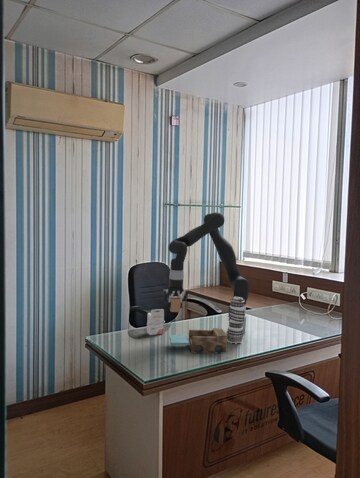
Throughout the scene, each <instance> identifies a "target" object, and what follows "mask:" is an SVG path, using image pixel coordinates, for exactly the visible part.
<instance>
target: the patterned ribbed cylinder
mask: <svg viewBox="0 0 360 478" xmlns="http://www.w3.org/2000/svg"><path fill="white" fill-rule="evenodd" d="M232 297H233V296H232ZM232 297H231V298H232ZM231 298H230V300H229V301H230V305H229V306H228V316H227V317H228V319H227V320H228V328H227V334H226V335H227V343H229V342H230V343H229V344H232V343H235V344H234V345H238V344H237V343H241V344H242V343H243V334H244V333H242V332H243V330H242V329H243V326H242V325H243V322H244V320H243V319H244V317H243V316H244V315H245V316H246V312H245V311H244V310H243V309H244V302H245V301H244V300H243V298H241V297H233V298H232V299H231ZM244 312H245V314H244Z"/></svg>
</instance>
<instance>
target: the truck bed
mask: <svg viewBox="0 0 360 478" xmlns="http://www.w3.org/2000/svg"><path fill="white" fill-rule="evenodd" d="M227 337H228V336H227V334H226V332H225V330H224V329H223V328H221V327H219V328H218V327H217V328H216V327H214V328H212V329H188V340H189V343H190V346H189V345H188V347H189V350H190V352H191V353H197V354H202V353H204V354H205V353H212V354H213V353H214V352H216V354H222V353H221V352H226V353H227V345H228V344H227V343H228V341H227ZM214 354H215V353H214Z"/></svg>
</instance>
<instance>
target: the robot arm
mask: <svg viewBox="0 0 360 478" xmlns="http://www.w3.org/2000/svg"><path fill="white" fill-rule="evenodd" d="M223 225H225V216H224V214H223V213H222V212H219V211H217V212H216V211H215V212H210V213H207V214H205V215H204V217H203V224H201V225H198V226H196V227H195V228H192V229H191V230H189V231H187V232H186V233H185V234H184V235H182V236H179V237H177V238H175V239H173V240H171V242H170V243H169V245H168V251H169V252H170V253H171V254H173V255H175V258H172V259H171V260H170V269H169V278H168V279H169V280H168V281H169V282H168V288H167V289H162V291H163V297H164V300H165V302H167V307H168V309H169V310H170V309H171V298H172V297H175V296H177V297H179V298H180V299H181V304H180V310H181V309H182V308H183V302H186V301H187V297H188V296H189V295H188V294H189V291H188V289H184V265H185V264H184V263H185V260H186V257H187V253H188V247H189V248H190V247H191V246H193V245H195V243H197V242H198V241H200V240H201V239H203V238H204V237H205V236H206V235H208V234H209V236H210V238H211V240H212V242H213V245H214V246H215V249H216V253H217V254H218V258H219V259H220V261H221V263H222V266H223V268H224V270H225V272H226V275H227V278H228V281H229V284H230V287H231V289H232V290H233V296H232V297H231V298H230V299H232V298H233V297H241V298H243V300H244V301H245V302H244V309H243V310H244V311H245V312H244V314H245V315H244V316H243V317H244V319H243V320H244V322H243V325H242V326H243V329H242V330H243V332H245V333H246V328H247V327H246V326H247V316H246V310H247V301H248V299H249V291H250V290H249V289H250V284H249V281H248V280H247V279H246V278H244V277H243V276H242V275H241V273H240V270H239V269H238V265H237V256H236V254H235V250H234V248H233V245H232V244H231V243H230V242H229V241H228V240H227V239H226V238H225V237H224V236H223V235H222V233H221V230H220V229H219V228H222V226H223ZM168 293H169V297H168V295H167V294H168ZM183 293H184V295H183V298H182V294H183ZM243 332H242V333H243ZM243 334H244V333H243Z"/></svg>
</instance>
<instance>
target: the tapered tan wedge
mask: <svg viewBox="0 0 360 478" xmlns="http://www.w3.org/2000/svg"><path fill="white" fill-rule="evenodd" d="M180 304H181V299H180V298H179V297H177V296H175V297H172V298H171V309H169V311H170V312H171V313H181V309H180Z"/></svg>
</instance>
